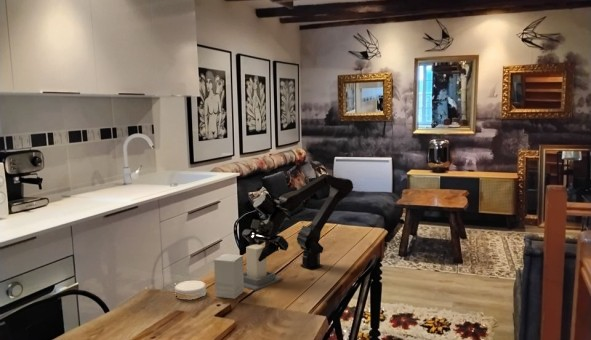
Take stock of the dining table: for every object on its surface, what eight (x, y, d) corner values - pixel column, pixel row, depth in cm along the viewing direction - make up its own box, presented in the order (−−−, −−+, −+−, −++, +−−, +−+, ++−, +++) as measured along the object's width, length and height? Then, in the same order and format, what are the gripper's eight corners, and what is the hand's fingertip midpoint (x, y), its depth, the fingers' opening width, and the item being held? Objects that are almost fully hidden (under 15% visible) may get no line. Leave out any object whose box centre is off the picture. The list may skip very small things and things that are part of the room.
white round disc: (191, 303, 150) (190, 292, 149) (168, 297, 155) (168, 286, 155) (212, 293, 158) (212, 283, 158) (190, 287, 163) (190, 278, 163)
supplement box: (244, 291, 159) (244, 255, 158) (234, 299, 152) (234, 261, 151) (224, 288, 162) (224, 253, 160) (214, 296, 155) (213, 259, 153)
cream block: (256, 273, 173) (255, 244, 171) (266, 276, 170) (266, 246, 168) (246, 277, 169) (246, 247, 167) (256, 280, 166) (256, 249, 164)
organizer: (257, 272, 178) (257, 265, 178) (281, 279, 171) (281, 272, 171) (230, 282, 168) (230, 275, 167) (255, 290, 160) (254, 283, 160)
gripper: (244, 207, 175) (223, 243, 168) (283, 214, 164) (261, 252, 156) (259, 224, 182) (239, 259, 175) (297, 231, 171) (277, 269, 163)
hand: (253, 259), depth 167 cm, fingers closed on cream block, 5 cm apart
